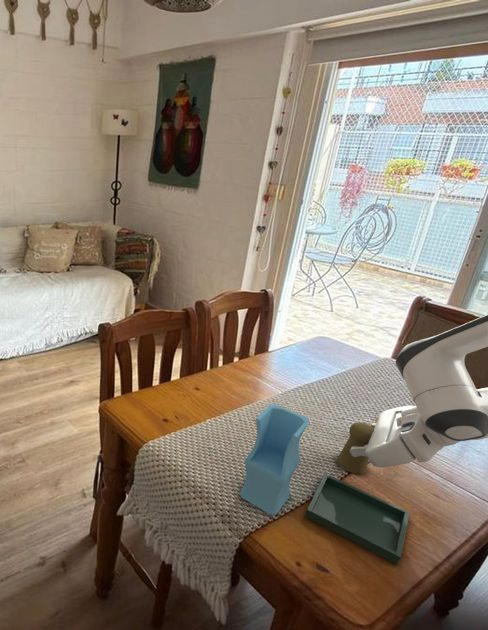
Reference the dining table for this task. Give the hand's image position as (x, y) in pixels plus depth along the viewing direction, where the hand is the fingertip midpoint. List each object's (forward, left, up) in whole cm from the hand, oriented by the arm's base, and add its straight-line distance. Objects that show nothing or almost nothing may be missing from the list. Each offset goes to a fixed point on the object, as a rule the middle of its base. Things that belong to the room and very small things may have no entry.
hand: (355, 443), depth 101 cm
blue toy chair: (+11, +24, -6) cm, 27 cm away
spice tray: (-5, +17, -6) cm, 19 cm away
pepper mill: (-1, 0, -6) cm, 6 cm away
